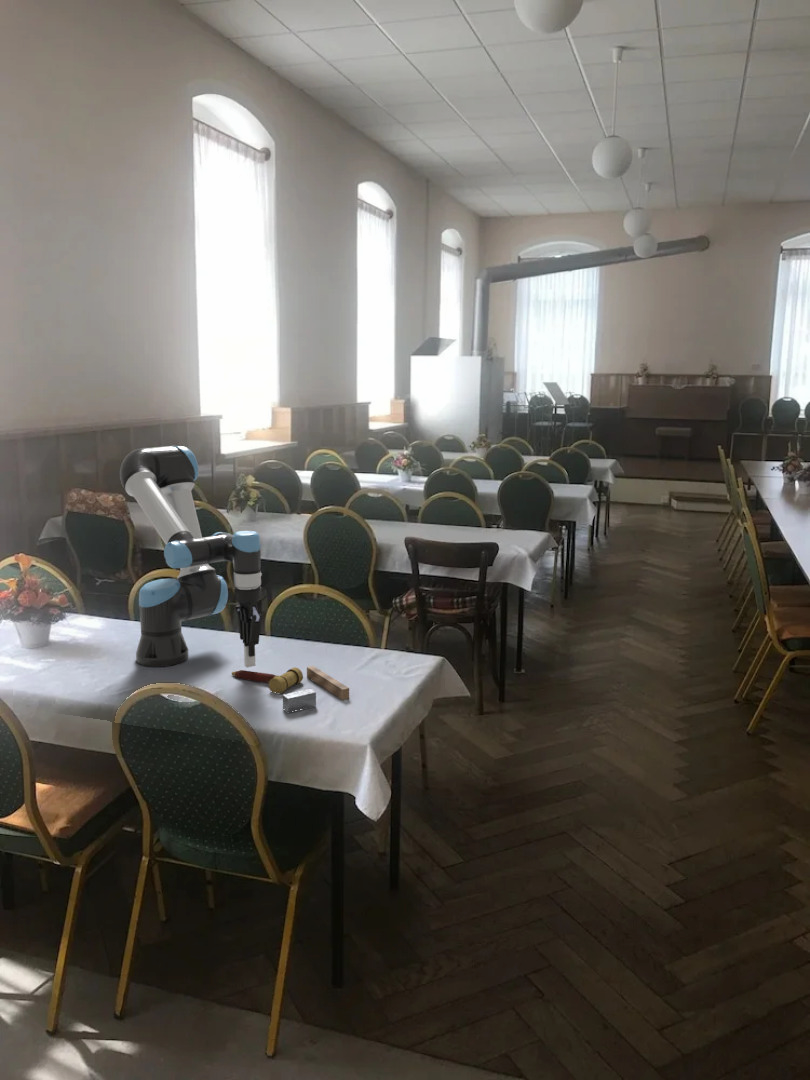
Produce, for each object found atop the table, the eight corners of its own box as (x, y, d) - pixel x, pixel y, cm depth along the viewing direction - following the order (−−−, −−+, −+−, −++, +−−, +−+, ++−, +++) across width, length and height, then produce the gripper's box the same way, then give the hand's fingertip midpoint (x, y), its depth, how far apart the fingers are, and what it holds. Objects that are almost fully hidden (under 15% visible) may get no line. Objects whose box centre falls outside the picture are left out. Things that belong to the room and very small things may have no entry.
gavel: (219, 671, 238) (242, 660, 247) (221, 686, 239) (243, 675, 247) (281, 679, 228) (302, 668, 237) (282, 695, 229) (303, 683, 238)
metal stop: (283, 709, 219) (282, 694, 219) (310, 702, 224) (310, 688, 223) (288, 713, 217) (288, 698, 216) (316, 706, 221) (315, 692, 221)
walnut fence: (306, 677, 242) (306, 667, 241) (313, 675, 243) (313, 665, 243) (342, 700, 226) (342, 689, 225) (349, 698, 227) (349, 687, 226)
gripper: (270, 589, 237) (272, 670, 241) (250, 579, 247) (252, 657, 252) (244, 593, 233) (247, 675, 237) (225, 583, 243) (228, 661, 248)
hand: (250, 665), depth 245 cm, fingers closed
